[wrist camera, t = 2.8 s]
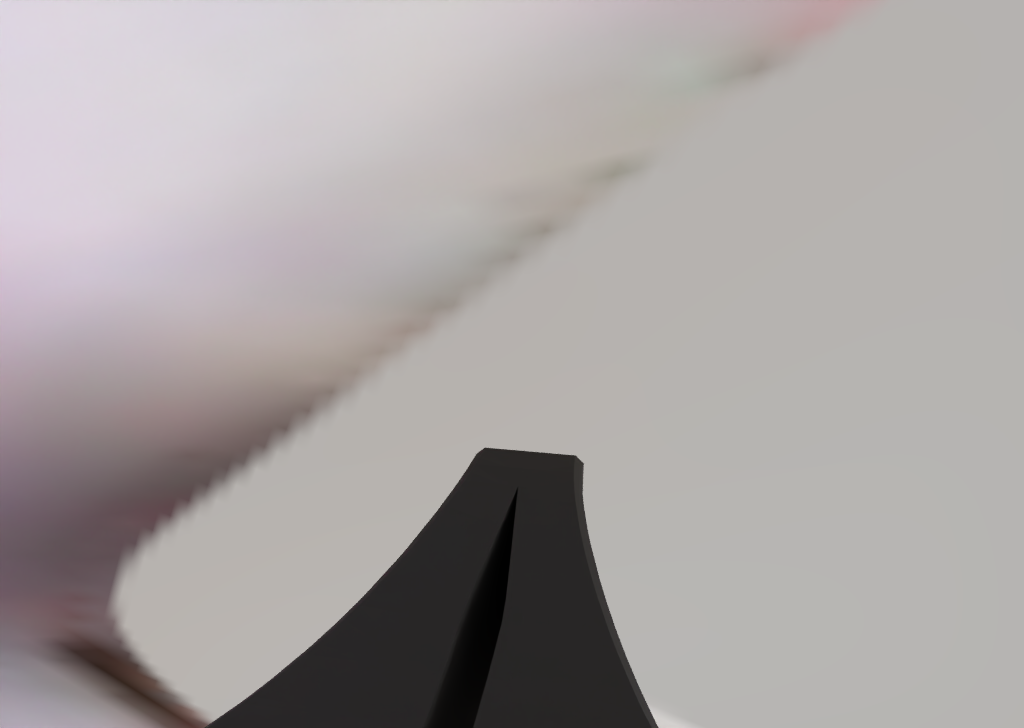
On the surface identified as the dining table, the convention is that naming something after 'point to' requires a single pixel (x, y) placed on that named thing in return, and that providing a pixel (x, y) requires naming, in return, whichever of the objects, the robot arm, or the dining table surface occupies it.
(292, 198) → the dining table surface
